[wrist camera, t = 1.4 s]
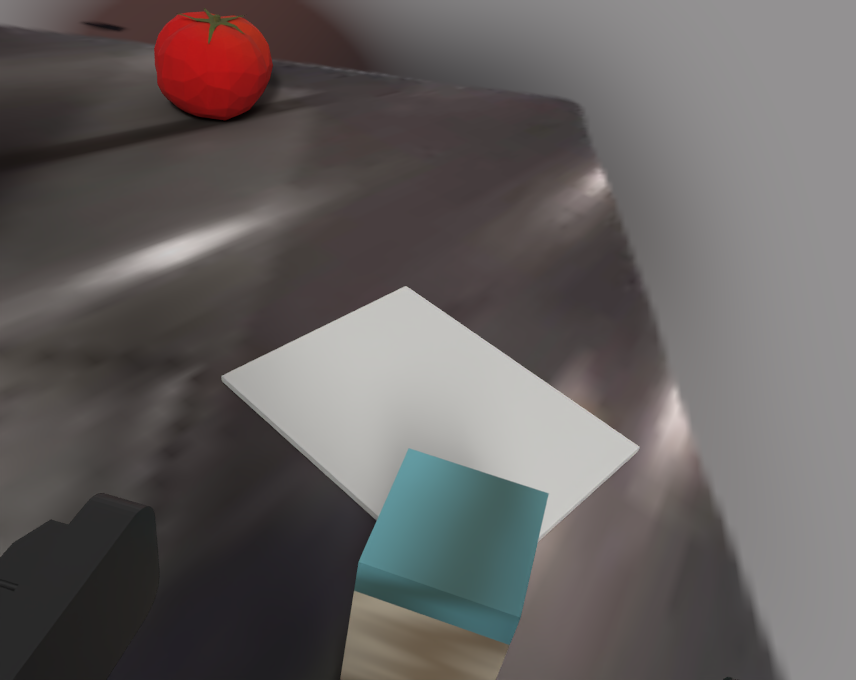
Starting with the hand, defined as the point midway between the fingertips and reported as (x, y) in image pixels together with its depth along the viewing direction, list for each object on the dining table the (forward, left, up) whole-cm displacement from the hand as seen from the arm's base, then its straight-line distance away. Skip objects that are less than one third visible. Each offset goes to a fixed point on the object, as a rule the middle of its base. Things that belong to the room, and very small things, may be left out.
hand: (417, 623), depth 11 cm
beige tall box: (-5, +9, -22) cm, 25 cm away
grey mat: (-16, +22, -22) cm, 35 cm away
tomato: (-55, +35, -23) cm, 69 cm away
